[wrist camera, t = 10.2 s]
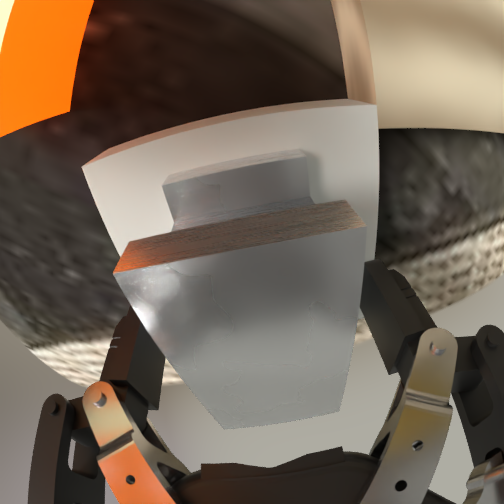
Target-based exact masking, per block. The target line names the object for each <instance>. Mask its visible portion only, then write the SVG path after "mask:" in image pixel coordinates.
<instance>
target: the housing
mask: <svg viewBox="0 0 504 504" xmlns="http://www.w3.org/2000/svg"><path fill="white" fill-rule="evenodd" d="M162 188H163V191H164V194H165V197H166V200H167V203H168V206H169V209H170V212H171V215H172V218H173V221H174V225H173V227H172V230H171V232H168V233H164V234H159V235H155V236H150V237H146V238H142V239H137V240H133V241H129V243H128V245H127V246H126V248H125V250H124V252H123V254H122V256H121V258H120V260H119V262H118V264H117V266H116V268H115V270H114V272H113V275H114V277H115V278H116V280H117V282H118V284H119V285H120V287H121V289H122V291H123V292H124V294H125V296H126V297H127V299H128V301H129V302H130V304H131V306H132V307H133V309H134V311H135V312H136V314H137V315H138V317H139V319H140V320H141V322H142V323H143V325H144V326H145V328H146V329H147V331H148V332H149V334H150V335H151V337H152V338H153V340H154V341H155V343H156V344H157V346H158V347H159V349H160V350H161V351H162V353H163V354H164V356H165V357H166V358H167V360H168V361H169V363H170V364H171V365H172V367H173V368H174V369H175V371H176V372H177V373H178V375H179V376H180V377H181V379H182V380H183V381H184V382H185V384H186V385H187V386H188V387H189V389H190V390H191V391H192V393H193V394H194V395H195V396H196V397H197V399H198V400H199V401H200V402H201V403H202V405H203V406H204V407H205V408H206V409H207V410H208V412H209V413H210V414H211V415H212V416H213V417H214V419H215V420H216V421H217V422H218V423H219V424H220V425H221V426H222V427H223V429H235V428H246V427H255V426H263V425H271V424H278V423H284V422H290V421H296V420H301V419H307V418H312V417H316V416H320V415H325V414H330V413H334V412H338V411H339V409H340V405H341V402H342V397H343V393H344V389H345V385H346V380H347V375H348V371H349V366H350V361H351V355H352V351H353V345H354V339H355V334H356V327H357V321H358V314H359V307H360V299H361V291H362V282H363V273H364V262H365V250H366V234H367V226H366V224H365V223H364V222H363V221H362V219H361V218H360V217H359V216H358V214H357V213H356V212H355V211H354V210H353V208H352V207H351V206H350V205H349V204H348V202H347V201H346V200H339V201H332V202H326V203H320V204H315V203H314V201H313V200H312V198H311V197H310V188H309V177H308V168H307V159H306V156H305V155H304V154H303V153H302V152H301V151H300V150H299V148H298V149H291V150H284V151H278V152H272V153H266V154H260V155H254V156H249V157H244V158H239V159H234V160H229V161H224V162H219V163H215V164H210V165H206V166H201V167H197V168H193V169H189V170H185V171H181V172H177V173H173V174H169V175H168V176H167V178H166V179H165V181H164V183H163V184H162Z"/></svg>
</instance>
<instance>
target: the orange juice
mask: <svg viewBox="0 0 504 504" xmlns="http://www.w3.org/2000/svg"><path fill="white" fill-rule="evenodd" d="M93 2H94V0H0V137H1V136H4V135H6V134H8V133H10V132H13V131H15V130H18V129H20V128H23V127H25V126H28V125H30V124H33V123H36V122H38V121H41V120H44V119H47V118H50V117H53V116H56V115H59V114H63V113H66V112H69V111H70V104H71V96H72V89H73V83H74V77H75V71H76V66H77V61H78V56H79V51H80V47H81V43H82V39H83V35H84V31H85V27H86V24H87V20H88V17H89V14H90V11H91V8H92V5H93Z"/></svg>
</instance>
